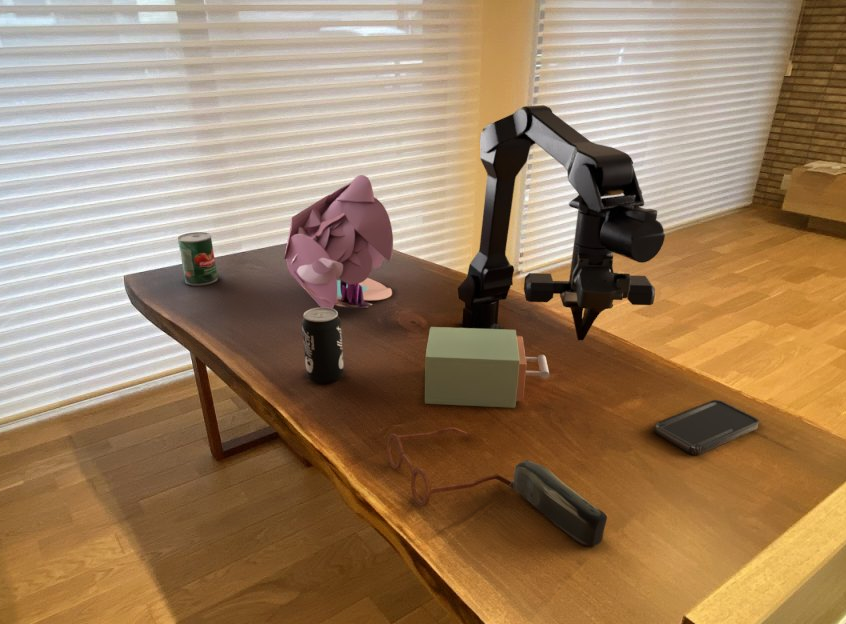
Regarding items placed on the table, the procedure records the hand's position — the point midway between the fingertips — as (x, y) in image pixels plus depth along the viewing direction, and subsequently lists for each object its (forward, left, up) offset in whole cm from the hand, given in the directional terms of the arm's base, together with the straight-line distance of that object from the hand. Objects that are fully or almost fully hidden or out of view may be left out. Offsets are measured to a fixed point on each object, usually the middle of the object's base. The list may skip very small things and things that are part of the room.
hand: (580, 339), depth 98 cm
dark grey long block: (+23, +21, -10) cm, 33 cm away
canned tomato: (+42, -88, -10) cm, 98 cm away
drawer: (+11, -8, -9) cm, 16 cm away
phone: (-10, +18, -10) cm, 23 cm away
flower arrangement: (+14, -61, -10) cm, 63 cm away
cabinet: (+14, -10, -10) cm, 20 cm away
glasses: (+30, +8, -10) cm, 33 cm away
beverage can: (+34, -26, -10) cm, 44 cm away
